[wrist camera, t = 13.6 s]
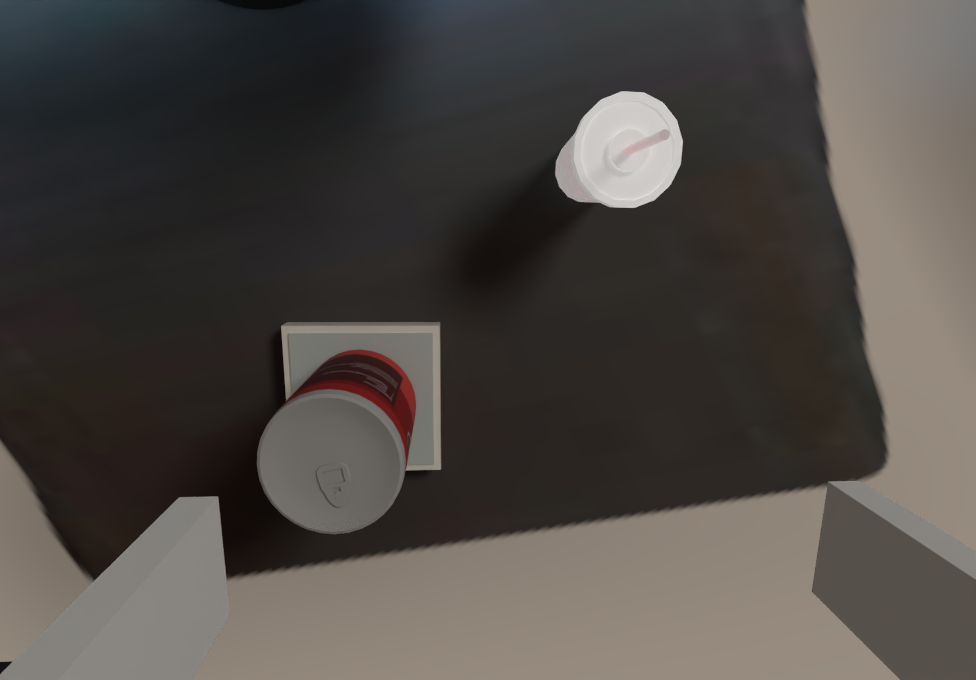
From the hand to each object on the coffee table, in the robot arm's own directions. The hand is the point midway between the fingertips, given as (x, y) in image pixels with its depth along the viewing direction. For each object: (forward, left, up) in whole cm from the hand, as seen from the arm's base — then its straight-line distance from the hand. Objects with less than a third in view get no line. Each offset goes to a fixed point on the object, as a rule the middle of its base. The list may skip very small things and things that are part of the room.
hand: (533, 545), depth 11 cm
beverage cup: (-11, +8, -29) cm, 32 cm away
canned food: (+5, -8, -27) cm, 29 cm away
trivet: (+6, -8, -29) cm, 30 cm away
